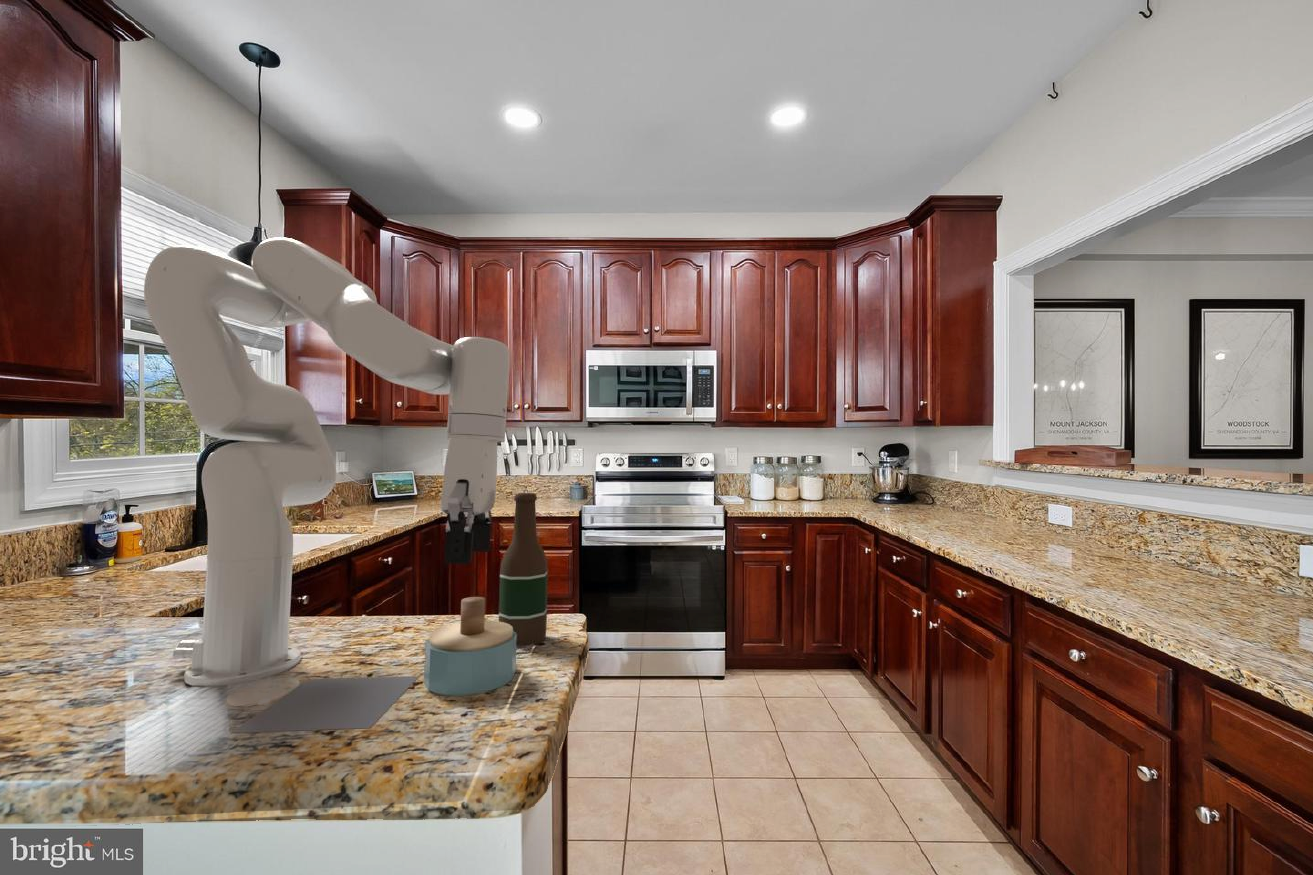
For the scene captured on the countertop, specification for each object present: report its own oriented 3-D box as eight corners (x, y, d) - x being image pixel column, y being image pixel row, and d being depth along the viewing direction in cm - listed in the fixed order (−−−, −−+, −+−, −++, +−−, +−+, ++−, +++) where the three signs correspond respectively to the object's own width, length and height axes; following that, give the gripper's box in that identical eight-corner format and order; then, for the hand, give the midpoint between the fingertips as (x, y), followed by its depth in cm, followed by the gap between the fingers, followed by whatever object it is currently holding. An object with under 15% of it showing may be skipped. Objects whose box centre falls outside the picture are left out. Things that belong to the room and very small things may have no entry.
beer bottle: (555, 636, 87) (558, 492, 89) (530, 651, 80) (533, 494, 81) (516, 631, 90) (519, 491, 91) (487, 645, 82) (491, 493, 84)
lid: (417, 652, 63) (418, 610, 64) (443, 627, 74) (444, 591, 74) (504, 650, 64) (505, 608, 65) (518, 625, 75) (519, 589, 75)
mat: (229, 736, 54) (229, 732, 54) (308, 682, 68) (308, 679, 68) (370, 731, 55) (370, 727, 55) (419, 679, 69) (419, 675, 69)
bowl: (411, 700, 63) (413, 653, 63) (441, 666, 74) (442, 626, 74) (505, 697, 64) (506, 651, 64) (520, 663, 75) (521, 624, 75)
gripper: (466, 432, 79) (458, 546, 78) (425, 423, 62) (415, 568, 61) (516, 435, 80) (509, 548, 79) (489, 426, 62) (480, 570, 61)
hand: (468, 556), depth 70 cm, fingers open, 9 cm apart
